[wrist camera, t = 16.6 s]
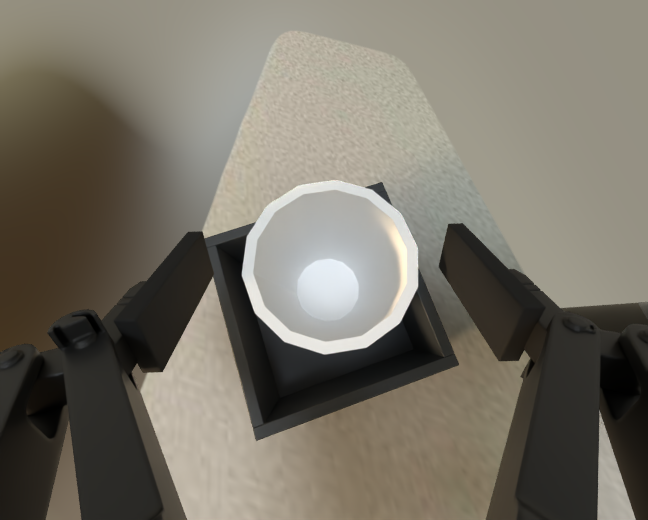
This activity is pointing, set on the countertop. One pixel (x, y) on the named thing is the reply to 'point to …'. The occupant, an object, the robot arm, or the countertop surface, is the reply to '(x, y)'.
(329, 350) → the foam cup
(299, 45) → the countertop surface
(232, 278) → the dark grey open box
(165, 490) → the robot arm
